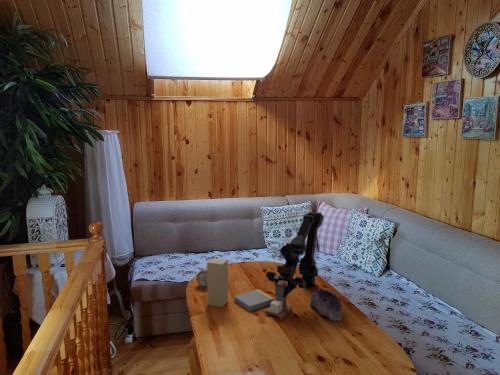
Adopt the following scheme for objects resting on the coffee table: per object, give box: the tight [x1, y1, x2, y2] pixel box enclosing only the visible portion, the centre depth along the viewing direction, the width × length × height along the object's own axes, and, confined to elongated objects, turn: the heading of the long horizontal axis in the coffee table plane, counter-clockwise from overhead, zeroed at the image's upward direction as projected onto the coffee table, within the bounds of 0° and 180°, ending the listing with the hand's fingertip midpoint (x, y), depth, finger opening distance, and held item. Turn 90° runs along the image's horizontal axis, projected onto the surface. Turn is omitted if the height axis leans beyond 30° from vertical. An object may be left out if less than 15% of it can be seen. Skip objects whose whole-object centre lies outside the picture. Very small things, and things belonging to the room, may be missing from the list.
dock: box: [233, 288, 275, 312], centre depth 194 cm, size 14×13×3 cm
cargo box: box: [269, 299, 282, 313], centre depth 182 cm, size 4×4×4 cm
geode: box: [309, 287, 343, 323], centre depth 184 cm, size 20×12×10 cm, turn 20°
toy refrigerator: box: [206, 257, 229, 308], centre depth 193 cm, size 8×7×21 cm
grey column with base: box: [264, 281, 293, 320], centre depth 183 cm, size 10×9×13 cm
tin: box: [195, 269, 207, 288], centre depth 213 cm, size 15×3×8 cm, turn 84°
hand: (279, 296), depth 184 cm, fingers closed on grey column with base, 3 cm apart
